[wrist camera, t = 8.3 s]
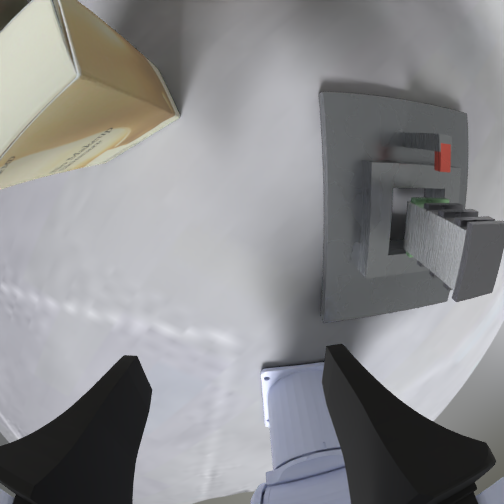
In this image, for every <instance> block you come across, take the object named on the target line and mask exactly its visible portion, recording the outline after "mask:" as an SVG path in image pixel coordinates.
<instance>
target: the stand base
mask: <svg viewBox="0 0 504 504" xmlns="http://www.w3.org/2000/svg"><path fill="white" fill-rule="evenodd" d="M319 104H320V118H321V134H322V154H323V187H324V244H323V278H322V299H321V315H320V316H321V318H322V321H323V323H328V322H335V321H343V320H350V319H356V318H363V317H369V316H375V315H381V314H387V313H393V312H398V311H403V310H409V309H414V308H419V307H424V306H428V305H433V304H437V303H442V302H446V301H447V300H448V296H449V292H450V290H447V289H446V288H444V287H443V281H442V280H441V279H440V278H439V277H437V278H433V277H432V276H431V275H430V274H429V272H430V270H429V269H428V268H427V267H420V266H419V265H418V264H417V259H416V258H414V257H408V256H407V255H406V250H404V249H403V246H404V240H393V241H390V230H391V217H392V200H393V188H425V198H447V199H449V203H459V204H461V205H463V209H465V203H466V192H467V176H468V123H467V113H463V112H460V111H456V110H452V109H448V108H444V107H439V106H435V105H430V104H425V103H420V102H415V101H409V100H403V99H397V98H390V97H383V96H375V95H365V94H355V93H342V92H321V93H320V94H319Z"/></svg>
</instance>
